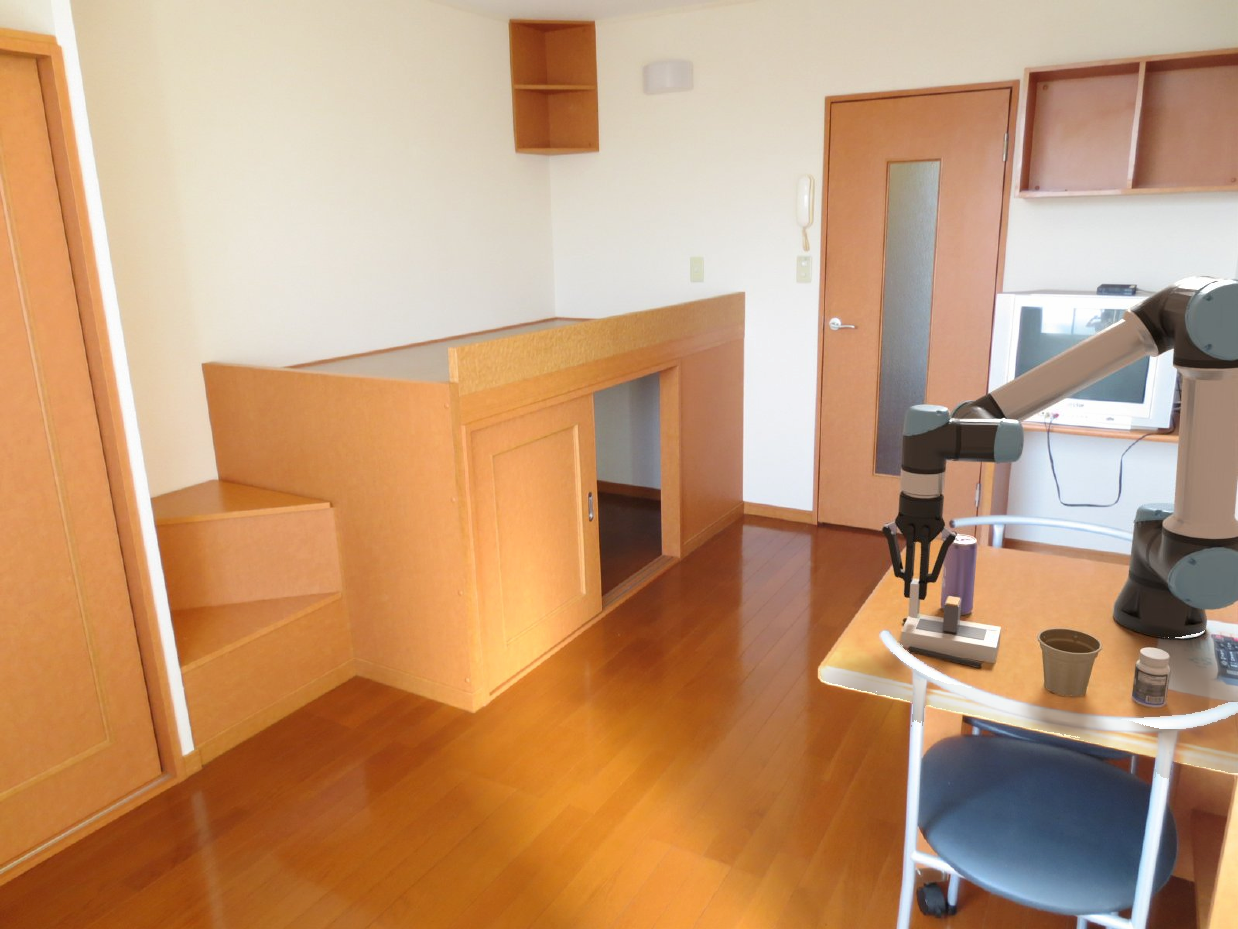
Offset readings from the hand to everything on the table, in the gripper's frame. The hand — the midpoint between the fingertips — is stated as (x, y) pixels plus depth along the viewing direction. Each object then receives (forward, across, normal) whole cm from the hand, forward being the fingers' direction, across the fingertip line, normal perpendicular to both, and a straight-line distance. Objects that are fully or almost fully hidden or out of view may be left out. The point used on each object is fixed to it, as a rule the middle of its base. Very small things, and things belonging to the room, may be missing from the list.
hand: (913, 614), depth 164 cm
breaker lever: (+1, -7, 0) cm, 7 cm away
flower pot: (+5, -26, +9) cm, 28 cm away
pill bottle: (+5, -38, +8) cm, 39 cm away
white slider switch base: (+5, -7, 0) cm, 8 cm away
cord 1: (+5, -7, +6) cm, 10 cm away
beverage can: (+5, -6, -16) cm, 18 cm away
